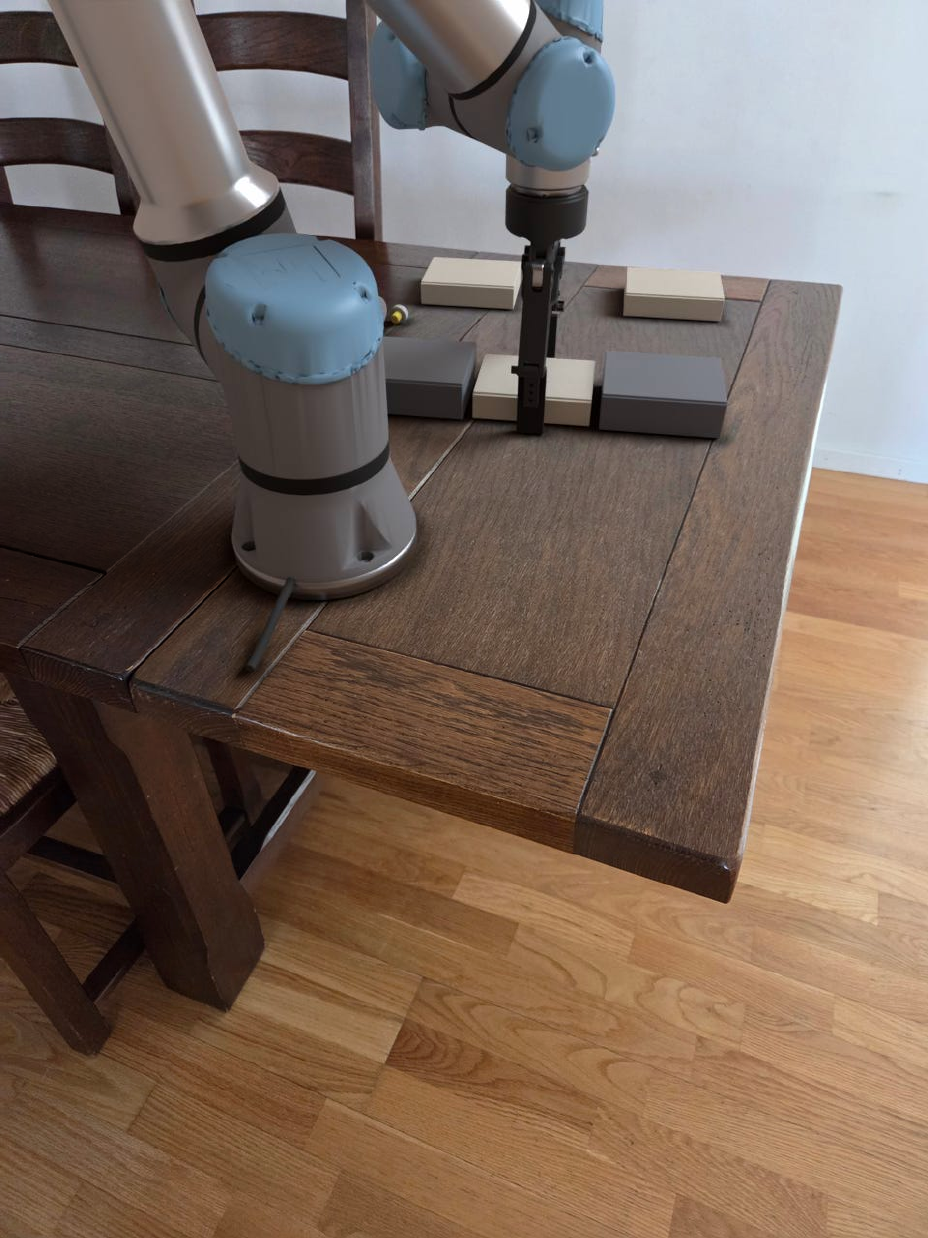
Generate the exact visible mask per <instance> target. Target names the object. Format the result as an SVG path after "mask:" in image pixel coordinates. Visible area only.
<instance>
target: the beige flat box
mask: <svg viewBox="0 0 928 1238" xmlns="http://www.w3.org/2000/svg"><path fill="white" fill-rule="evenodd" d="M518 357H519V355H513V354H497V353H484V356H483V359H482V362H481V365H480V368H479V372H478V375H477V377H476V380H475V383H474V386H473V389H472V410H471V411H472V415H471V416H472V418H474V419H485V420H497V421H498V420H499V421H500V420H501V421H514V422H517V397H518V376H517V374H511V366H518ZM546 367H547V383H546V399H545V415H544V424H553V425H567V426H568V425H569V426H578V427H579V426H581V427H589V426H590V421H591V413H592V412H591V411H592V402H593V391H594V381H595V380H594V379H595V369H596V360H589V359H572V358H560V357H555V358H546Z"/></svg>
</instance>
